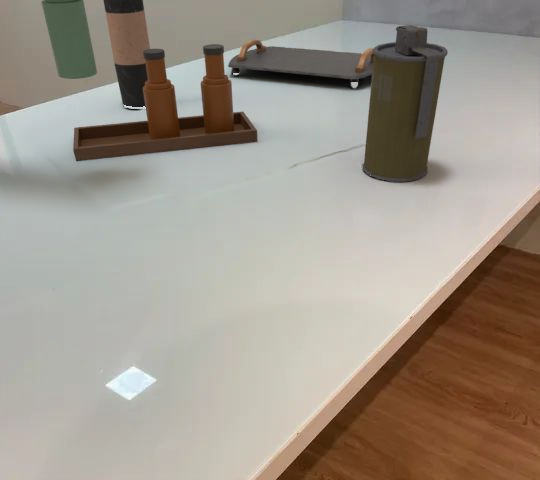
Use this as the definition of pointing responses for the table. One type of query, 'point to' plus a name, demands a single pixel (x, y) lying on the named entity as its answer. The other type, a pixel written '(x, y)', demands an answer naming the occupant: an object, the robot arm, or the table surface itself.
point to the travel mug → (128, 47)
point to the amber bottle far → (216, 92)
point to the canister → (403, 105)
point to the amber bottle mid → (159, 97)
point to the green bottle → (70, 38)
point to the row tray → (138, 139)
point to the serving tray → (304, 61)
